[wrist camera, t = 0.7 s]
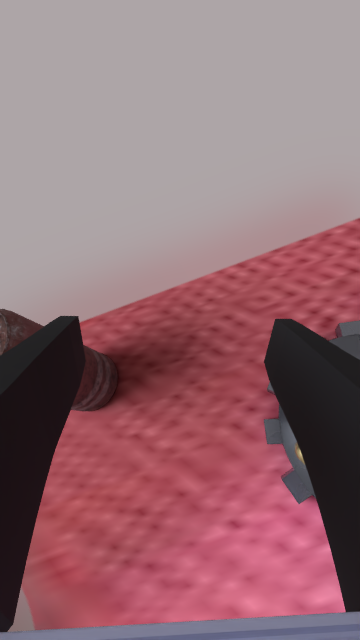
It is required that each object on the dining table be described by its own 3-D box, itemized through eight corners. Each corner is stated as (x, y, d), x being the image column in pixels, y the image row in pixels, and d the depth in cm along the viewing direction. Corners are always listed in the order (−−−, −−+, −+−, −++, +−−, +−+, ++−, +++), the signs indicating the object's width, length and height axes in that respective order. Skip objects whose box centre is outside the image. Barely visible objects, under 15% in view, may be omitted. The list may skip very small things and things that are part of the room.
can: (60, 391, 31) (-81, 362, 19) (95, 345, 32) (-17, 289, 20) (92, 426, 28) (-47, 419, 16) (130, 375, 29) (26, 332, 17)
